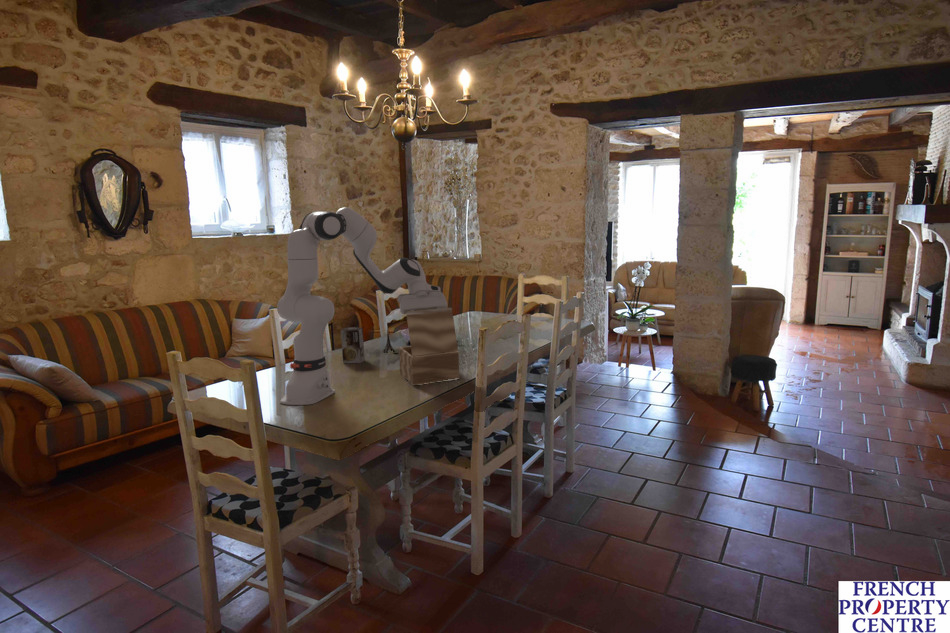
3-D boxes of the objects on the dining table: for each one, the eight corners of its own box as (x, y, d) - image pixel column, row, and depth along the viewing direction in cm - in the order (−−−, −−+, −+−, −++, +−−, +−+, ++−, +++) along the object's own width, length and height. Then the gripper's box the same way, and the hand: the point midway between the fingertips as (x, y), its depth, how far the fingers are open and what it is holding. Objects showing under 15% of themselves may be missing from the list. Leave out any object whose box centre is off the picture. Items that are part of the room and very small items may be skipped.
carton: (400, 374, 251) (398, 347, 248) (443, 368, 258) (442, 342, 256) (412, 386, 232) (411, 357, 230) (459, 379, 240) (458, 351, 237)
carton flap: (406, 311, 233) (406, 311, 232) (451, 307, 240) (451, 307, 239) (412, 356, 230) (412, 356, 230) (457, 350, 237) (458, 350, 237)
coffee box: (365, 359, 277) (363, 327, 274) (361, 363, 271) (359, 329, 268) (346, 359, 278) (344, 327, 275) (342, 363, 272) (340, 329, 269)
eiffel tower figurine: (370, 354, 289) (368, 328, 287) (379, 350, 299) (377, 324, 297) (397, 356, 285) (396, 329, 283) (405, 351, 295) (404, 325, 292)
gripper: (397, 290, 240) (404, 316, 233) (443, 286, 248) (451, 312, 241) (395, 299, 245) (402, 325, 238) (440, 295, 253) (448, 321, 246)
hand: (427, 319), depth 239 cm, fingers open, 8 cm apart
